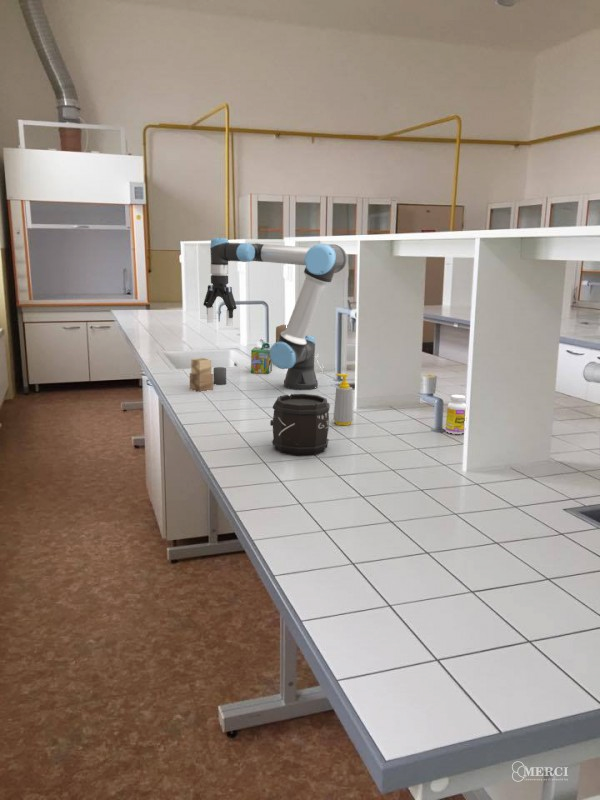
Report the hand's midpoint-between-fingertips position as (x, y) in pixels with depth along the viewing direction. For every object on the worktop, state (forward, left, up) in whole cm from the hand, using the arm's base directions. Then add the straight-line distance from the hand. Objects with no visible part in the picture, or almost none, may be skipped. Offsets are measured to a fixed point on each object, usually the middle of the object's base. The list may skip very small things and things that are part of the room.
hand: (219, 324), depth 296 cm
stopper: (0, 0, -27) cm, 27 cm away
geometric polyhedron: (-7, -52, -27) cm, 59 cm away
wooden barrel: (-92, +42, -27) cm, 105 cm away
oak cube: (-5, +14, -20) cm, 25 cm away
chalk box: (+9, -33, -27) cm, 43 cm away
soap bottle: (-81, +9, -27) cm, 86 cm away
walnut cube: (-5, +14, -27) cm, 31 cm away
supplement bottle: (-114, -12, -27) cm, 118 cm away
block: (+18, -59, -27) cm, 67 cm away
